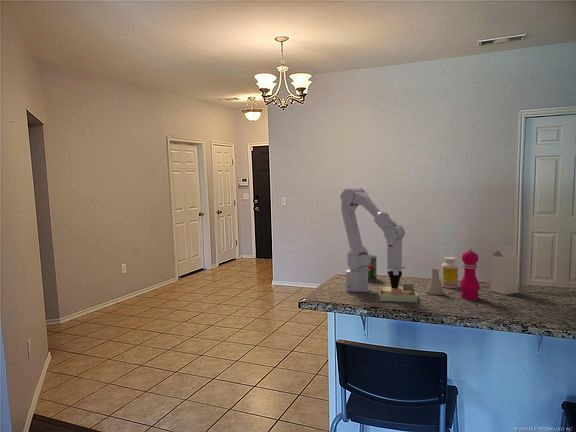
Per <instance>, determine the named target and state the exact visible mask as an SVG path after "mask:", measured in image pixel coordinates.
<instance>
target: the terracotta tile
mask: <svg viewBox="0 0 576 432" xmlns="http://www.w3.org/2000/svg"><path fill="white" fill-rule="evenodd" d="M391 295H402V289H401V288H391Z"/></svg>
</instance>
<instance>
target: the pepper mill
mask: <svg viewBox="0 0 576 432" xmlns="http://www.w3.org/2000/svg"><path fill="white" fill-rule="evenodd" d="M461 260H462V262H463V264H462V268H463V270H464V271H463V277H462V279H461V280H460V282H459V283H460V284H459V289H460V290H461V292H460V297H461V299H464V300H467V299H468V300H469V301H470V300H471V301H476V300H478V299H479V293H478V292H479V291H480V288H481V287H480V282H479V280H478V277H477V274H476V269H477V267H478V265H477V263H478V262H479V255H478V254H477V253H476V252H475V251H473V248H472V247H468V248H467V251H465V252H463V253H462V255H461Z"/></svg>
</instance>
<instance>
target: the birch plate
mask: <svg viewBox="0 0 576 432" xmlns="http://www.w3.org/2000/svg"><path fill="white" fill-rule="evenodd" d="M391 288H392V287H391V286H384V285H383V286H382V285H380V286H378V292H379V291H380V294H381V295H391ZM398 288H401V289H402V286H398ZM415 292H416V290H415V289H414V287H413V290H403V289H402V295H413V296H415Z"/></svg>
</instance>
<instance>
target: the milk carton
mask: <svg viewBox="0 0 576 432" xmlns="http://www.w3.org/2000/svg"><path fill="white" fill-rule="evenodd" d="M518 270H519V256H518V254H516V252H514V250H513V249H512V245H508V246H498V247H497V250H496V251H495V252H494V253H492V254H491V255H490V291H491V292H494V293H496V294H497V293H498V294H502V295H511V294H517V293H518V283H519V281H518V280H519V276H518V275H519V271H518Z"/></svg>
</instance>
